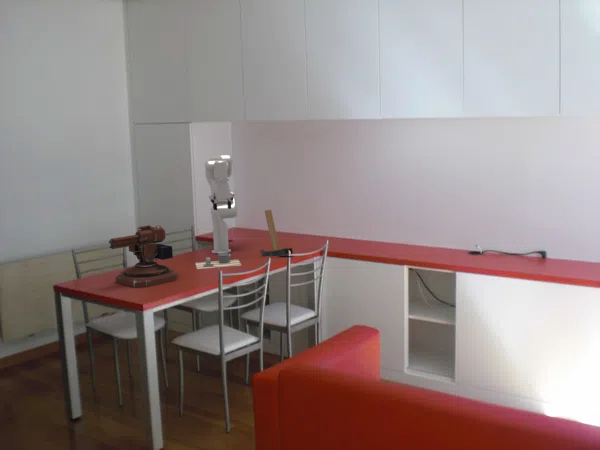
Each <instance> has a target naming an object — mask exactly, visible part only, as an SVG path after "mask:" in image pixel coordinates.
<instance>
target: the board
mask: <svg viewBox="0 0 600 450" xmlns="http://www.w3.org/2000/svg"><path fill="white" fill-rule="evenodd" d="M241 263H242V262H241V261H240V260H239V259H230V262H229V263H219V260H215V261H213V260H211V257H205V261H200V262H195V267H196V269H197V270H199V269H215V268H224V267H225V268H227V267H239V266H242V264H241Z"/></svg>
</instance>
